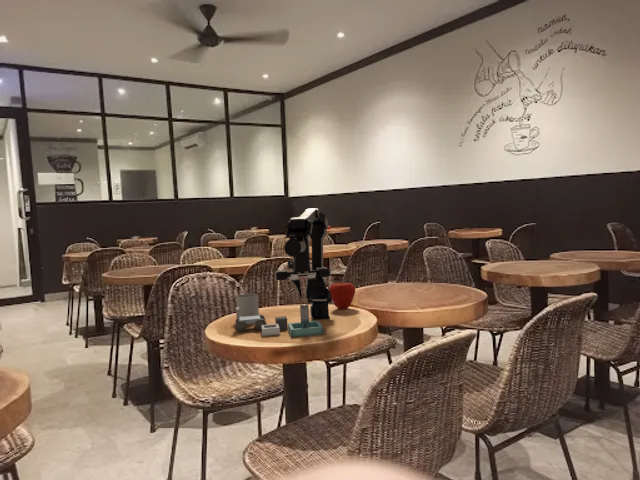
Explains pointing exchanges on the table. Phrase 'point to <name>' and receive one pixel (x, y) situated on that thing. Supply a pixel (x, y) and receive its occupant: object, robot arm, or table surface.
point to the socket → (270, 329)
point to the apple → (342, 294)
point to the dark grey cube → (281, 322)
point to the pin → (304, 316)
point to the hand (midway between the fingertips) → (303, 298)
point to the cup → (248, 305)
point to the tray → (305, 329)
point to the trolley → (248, 321)
